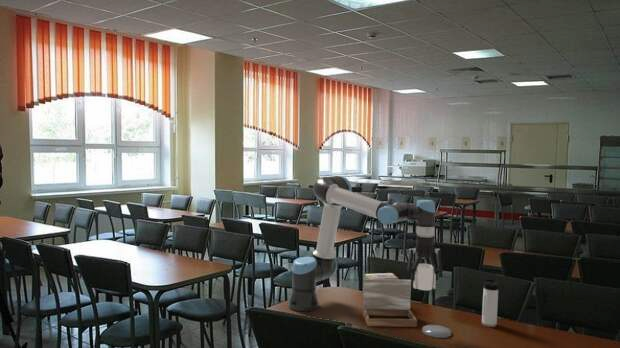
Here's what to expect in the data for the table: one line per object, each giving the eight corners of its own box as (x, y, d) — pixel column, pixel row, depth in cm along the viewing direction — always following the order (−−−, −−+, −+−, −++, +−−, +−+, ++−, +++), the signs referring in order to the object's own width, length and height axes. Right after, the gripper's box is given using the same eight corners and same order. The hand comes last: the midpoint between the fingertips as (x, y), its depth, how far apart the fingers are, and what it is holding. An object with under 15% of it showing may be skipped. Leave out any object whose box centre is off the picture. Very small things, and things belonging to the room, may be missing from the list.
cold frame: (362, 313, 221) (363, 278, 220) (408, 314, 221) (410, 279, 220) (367, 325, 206) (368, 288, 205) (416, 326, 206) (418, 289, 205)
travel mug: (496, 322, 213) (498, 279, 212) (496, 328, 207) (499, 283, 206) (481, 320, 215) (483, 278, 214) (481, 325, 209) (484, 282, 208)
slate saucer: (419, 326, 206) (419, 324, 206) (445, 327, 207) (446, 324, 207) (426, 337, 195) (426, 335, 194) (455, 338, 195) (455, 336, 195)
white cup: (433, 291, 198) (434, 268, 198) (414, 290, 200) (415, 267, 200) (432, 286, 206) (433, 264, 206) (414, 285, 208) (415, 262, 207)
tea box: (391, 300, 241) (392, 272, 240) (398, 307, 231) (399, 278, 230) (363, 301, 239) (364, 272, 238) (368, 308, 229) (369, 278, 228)
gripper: (404, 237, 198) (402, 290, 199) (451, 237, 198) (450, 290, 199) (400, 234, 205) (399, 285, 206) (446, 234, 206) (444, 285, 207)
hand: (424, 287), depth 203 cm, fingers closed on white cup, 7 cm apart
